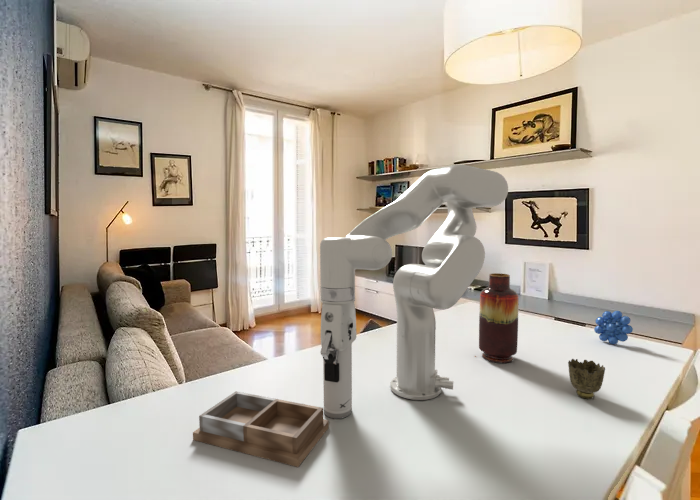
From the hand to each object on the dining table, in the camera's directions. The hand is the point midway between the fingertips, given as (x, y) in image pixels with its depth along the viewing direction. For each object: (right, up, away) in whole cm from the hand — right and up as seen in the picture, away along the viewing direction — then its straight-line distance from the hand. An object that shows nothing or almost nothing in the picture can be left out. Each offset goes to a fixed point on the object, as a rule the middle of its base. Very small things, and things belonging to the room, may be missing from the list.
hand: (338, 373), depth 80 cm
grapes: (+94, -5, +46) cm, 104 cm away
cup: (+59, -8, +7) cm, 60 cm away
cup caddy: (-15, -9, -8) cm, 19 cm away
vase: (+48, -6, +33) cm, 59 cm away
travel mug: (0, -9, +1) cm, 9 cm away
